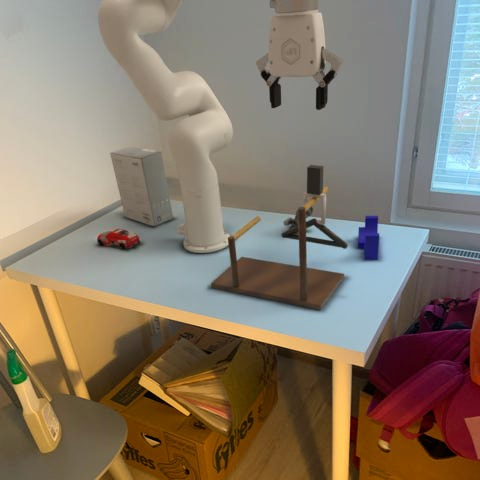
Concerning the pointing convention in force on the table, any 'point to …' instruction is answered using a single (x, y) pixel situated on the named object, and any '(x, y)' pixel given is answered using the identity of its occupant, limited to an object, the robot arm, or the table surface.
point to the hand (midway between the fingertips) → (298, 107)
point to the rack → (280, 273)
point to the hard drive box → (142, 185)
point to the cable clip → (369, 238)
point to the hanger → (315, 191)
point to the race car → (118, 238)
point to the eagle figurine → (295, 221)
